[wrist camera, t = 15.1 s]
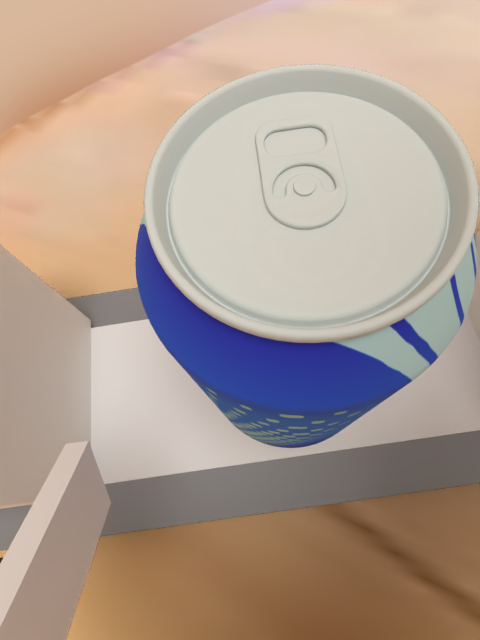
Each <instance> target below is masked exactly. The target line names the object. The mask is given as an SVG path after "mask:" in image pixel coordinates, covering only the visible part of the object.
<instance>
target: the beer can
mask: <svg viewBox="0 0 480 640" xmlns="http://www.w3.org/2000/svg"><path fill="white" fill-rule="evenodd" d="M478 210H479V189H478V182H477V177H476V172H475V169H474V165H473V162H472V159H471V157H470V155H469V152H468V150H467V148H466V146H465V144H464V143H463V141H462V139H461V138H460V136H459V134H458V133H457V132H456V130H455V129H454V128H453V126H452V125H451V124H450V122H449V121H448V120H447V119H446V118H445V117H444V116H443V115H442V114H441V113H440V112H439V111H438V110H437V109H436V108H435V107H434V106H432V105H431V104H430V103H429V102H427V101H426V100H425V99H423V98H422V97H421V96H419V95H418V94H416V93H415V92H413V91H411V90H410V89H408V88H406V87H404V86H402V85H400V84H398V83H396V82H394V81H392V80H390V79H387V78H385V77H382V76H379V75H376V74H373V73H370V72H367V71H363V70H359V69H355V68H349V67H343V66H336V65H325V64H303V65H290V66H282V67H277V68H271V69H267V70H263V71H259V72H255V73H252V74H249V75H246V76H243V77H241V78H238V79H236V80H234V81H231V82H229V83H227V84H225V85H223V86H221V87H219V88H217V89H216V90H214V91H212V92H211V93H209V94H208V95H206V96H205V97H203V98H202V99H200V100H199V101H198V102H196V103H195V104H194V105H193V106H192V107H190V108H189V109H188V110H187V111H186V112H185V113H184V114H183V115H182V116H181V117H180V118H179V119H178V120H177V121H176V122H175V123H174V125H173V126H172V127H171V128H170V130H169V131H168V132H167V134H166V135H165V137H164V138H163V140H162V141H161V143H160V145H159V147H158V149H157V151H156V152H155V154H154V157H153V159H152V162H151V165H150V168H149V171H148V175H147V178H146V185H145V191H144V215H143V218H142V221H141V225H140V229H139V233H138V239H137V246H136V278H137V284H138V289H139V294H140V297H141V301H142V304H143V307H144V310H145V312H146V314H147V317H148V319H149V321H150V324H151V325H152V327H153V329H154V331H155V333H156V334H157V336H158V338H159V339H160V341H161V342H162V344H163V345H164V346H165V348H166V349H167V351H168V352H169V353H170V354H171V355H172V356H173V357H174V359H175V360H176V361H177V362H178V363H179V364H180V365H181V366H182V368H183V369H184V370H185V371H186V372H187V373H188V374H189V376H190V377H191V378H192V379H193V380H194V381H195V382H196V383H197V385H198V386H199V387H200V388H201V389H202V390H203V391H204V392H205V394H206V395H207V396H208V397H209V398H210V399H211V400H212V402H213V403H214V404H215V405H216V406H217V407H218V408H219V409H220V411H221V412H222V413H223V414H224V415H225V416H226V417H227V418H228V420H229V421H230V422H231V423H232V424H233V425H234V426H235V427H236V428H237V429H239V430H240V431H241V432H243V433H244V434H246V435H247V436H249V437H250V438H252V439H254V440H257V441H259V442H261V443H264V444H267V445H271V446H275V447H282V448H300V447H306V446H311V445H314V444H317V443H320V442H323V441H325V440H327V439H329V438H331V437H332V436H334V435H335V434H337V433H339V432H340V431H341V430H343V429H344V428H346V427H347V426H349V425H350V424H351V423H353V422H354V421H356V420H357V419H359V418H360V417H361V416H363V415H364V414H366V413H367V412H369V411H370V410H372V409H373V408H374V407H376V406H377V405H379V404H380V403H382V402H383V401H384V400H386V399H387V398H389V397H390V396H392V395H393V394H394V393H396V392H397V391H399V390H400V389H402V388H403V387H405V386H406V385H407V384H409V383H410V382H412V381H413V380H414V379H416V378H417V377H418V376H419V375H421V374H422V373H423V372H424V371H425V370H427V369H428V368H429V367H430V366H431V365H432V364H433V363H434V362H435V361H436V360H437V359H438V358H439V357H440V355H441V354H442V353H443V351H444V350H445V349H446V347H447V346H448V345H449V344H450V342H451V341H452V340H453V338H454V336H455V335H456V333H457V331H458V330H459V328H460V326H461V325H462V322H463V320H464V318H465V316H466V314H467V311H468V309H469V305H470V302H471V299H472V296H473V291H474V285H475V280H476V270H477V249H476V240H475V235H474V233H475V230H476V224H477V219H478Z"/></svg>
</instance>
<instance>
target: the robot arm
mask: <svg viewBox="0 0 480 640" xmlns="http://www.w3.org/2000/svg"><path fill="white" fill-rule="evenodd" d="M110 505H111V501H110V498H109V495H108V493H107V490H106V487H105V484H104V482H103V479H102V476H101V473H100V471H99V468H98V465H97V462H96V460H95V457H94V454H93V451H92V449H91V446H90V443H89V441H83V442H75V443H68V444H65V446H64V448H63V450H62V452H61V453H60V455H59V457H58V459H57V461H56V463H55V464H54V466H53V468H52V470H51V472H50V474H49V475H48V477H47V479H46V481H45V483H44V485H43V486H42V488H41V490H40V492H39V494H38V496H37V497H36V499H35V501H34V503H33V505H32V507H31V508H30V510H29V512H28V514H27V516H26V518H25V519H24V521H23V523H22V525H21V527H20V529H19V530H18V532H17V534H16V536H15V538H14V540H13V541H12V543H11V545H10V547H9V549H8V551H7V552H6V554H5V556H4V558H0V640H66V638H67V635H68V632H69V629H70V626H71V623H72V620H73V617H74V614H75V611H76V608H77V605H78V602H79V599H80V595H81V592H82V589H83V586H84V583H85V580H86V577H87V574H88V571H89V568H90V565H91V562H92V559H93V556H94V553H95V550H96V547H97V544H98V541H99V538H100V535H101V532H102V529H103V526H104V523H105V520H106V517H107V514H108V511H109V508H110Z"/></svg>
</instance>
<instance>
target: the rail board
mask: <svg viewBox="0 0 480 640" xmlns="http://www.w3.org/2000/svg"><path fill="white" fill-rule="evenodd" d="M474 235H475V240H476V249H477V270H476V280H475V285H474V291H473V296H472V299H471V302H470V305H469V309H468V311H467V314H466V316H465V318H464V320H463V322H462V325H461V326H460V328H459V330H458V331H457V333H456V335H455V336H454V338H453V340H452V341H451V342H450V344H449V345H448V346H447V347H446V349H445V350H444V351H443V353H442V354H441V355H440V357H439V358H438V359H437V360H436V361H435V362H434V363H433V364H432V365H431V366H430V367H429V368H428V369H427V370H425V371H424V372H423V373H422V374H421V375H419V376H418V377H417V378H416V379H414V380H413V381H412V382H410V383H409V384H407V385H406V386H405V387H403V388H402V389H400V390H399V391H397V392H396V393H394V394H393V395H392V396H390V397H389V398H387V399H386V400H384V401H383V402H382V403H380V404H379V405H377V406H376V407H374V408H373V409H372V410H370V411H369V412H367V413H366V414H364V415H363V416H361V417H360V418H359V419H357V420H356V421H354V422H353V423H351V424H350V425H349V426H347V427H346V428H344V429H343V430H341V431H340V432H339V433H337V434H335V435H334V436H332V437H331V438H329V439H327V440H325V441H323V442H320V443H317V444H314V445H311V446H306V447H300V448H282V447H275V446H271V445H267V444H264V443H261V442H259V441H257V440H254V439H252V438H250V437H249V436H247V435H246V434H244V433H243V432H241V431H240V430H239V429H237V428H236V427H235V426H234V425H233V424H232V423H231V422H230V421H229V420H228V418H227V417H226V416H225V415H224V414H223V413H222V412H221V411H220V409H219V408H218V407H217V406H216V405H215V404H214V403H213V402H212V400H211V399H210V398H209V397H208V396H207V395H206V394H205V392H204V391H203V390H202V389H201V388H200V387H199V386H198V385H197V383H196V382H195V381H194V380H193V379H192V378H191V377H190V376H189V374H188V373H187V372H186V371H185V370H184V369H183V368H182V366H181V365H180V364H179V363H178V362H177V361H176V360H175V359H174V357H173V356H172V355H171V354H170V353H169V352H168V351H167V349H166V348H165V346H164V345H163V344H162V342H161V341H160V339H159V338H158V336H157V334H156V333H155V331H154V329H153V327H152V325H151V324H150V321H149V319H148V317H147V314H146V312H145V310H144V307H143V304H142V301H141V297H140V294H139V289H138V288H132V289H126V290H120V291H113V292H107V293H101V294H94V295H88V296H82V297H75V298H69V299H65V298H64V297H62V296H61V295H60V294H59V293H58V292H56V291H55V290H54V289H53V288H52V287H50V286H49V285H48V284H47V283H46V282H44V281H43V280H42V279H41V278H40V277H38V276H37V275H36V274H35V273H34V272H32V271H31V270H30V269H29V268H28V267H26V266H25V265H24V264H23V263H22V262H20V261H19V260H18V259H17V258H16V257H14V256H13V255H12V254H11V253H10V252H8V251H7V250H6V249H5V248H4V247H2V246H1V245H0V550H7V549H9V547H10V545H11V543H12V541H13V540H14V538H15V536H16V534H17V532H18V530H19V529H20V527H21V525H22V523H23V521H24V519H25V518H26V516H27V514H28V512H29V510H30V508H31V507H32V505H33V503H34V501H35V499H36V497H37V496H38V494H39V492H40V490H41V488H42V486H43V485H44V483H45V481H46V479H47V477H48V475H49V474H50V472H51V470H52V468H53V466H54V464H55V463H56V461H57V459H58V457H59V455H60V453H61V452H62V450H63V448H64V446H65V444H68V443H75V442H83V441H89V443H90V446H91V449H92V451H93V454H94V457H95V460H96V462H97V465H98V468H99V471H100V473H101V476H102V479H103V482H104V484H105V487H106V490H107V493H108V495H109V498H110V501H111V505H110V508H109V511H108V514H107V517H106V520H105V523H104V526H103V529H102V532H101V535H100V536H107V535H114V534H121V533H128V532H135V531H142V530H149V529H157V528H164V527H171V526H178V525H185V524H192V523H199V522H207V521H214V520H221V519H228V518H235V517H242V516H249V515H257V514H264V513H271V512H278V511H285V510H292V509H299V508H307V507H314V506H321V505H328V504H335V503H342V502H349V501H357V500H364V499H371V498H378V497H385V496H392V495H400V494H407V493H414V492H421V491H428V490H435V489H442V488H450V487H457V486H464V485H471V484H478V483H480V229H479V230H478V231H477V233H476V234H474Z"/></svg>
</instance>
